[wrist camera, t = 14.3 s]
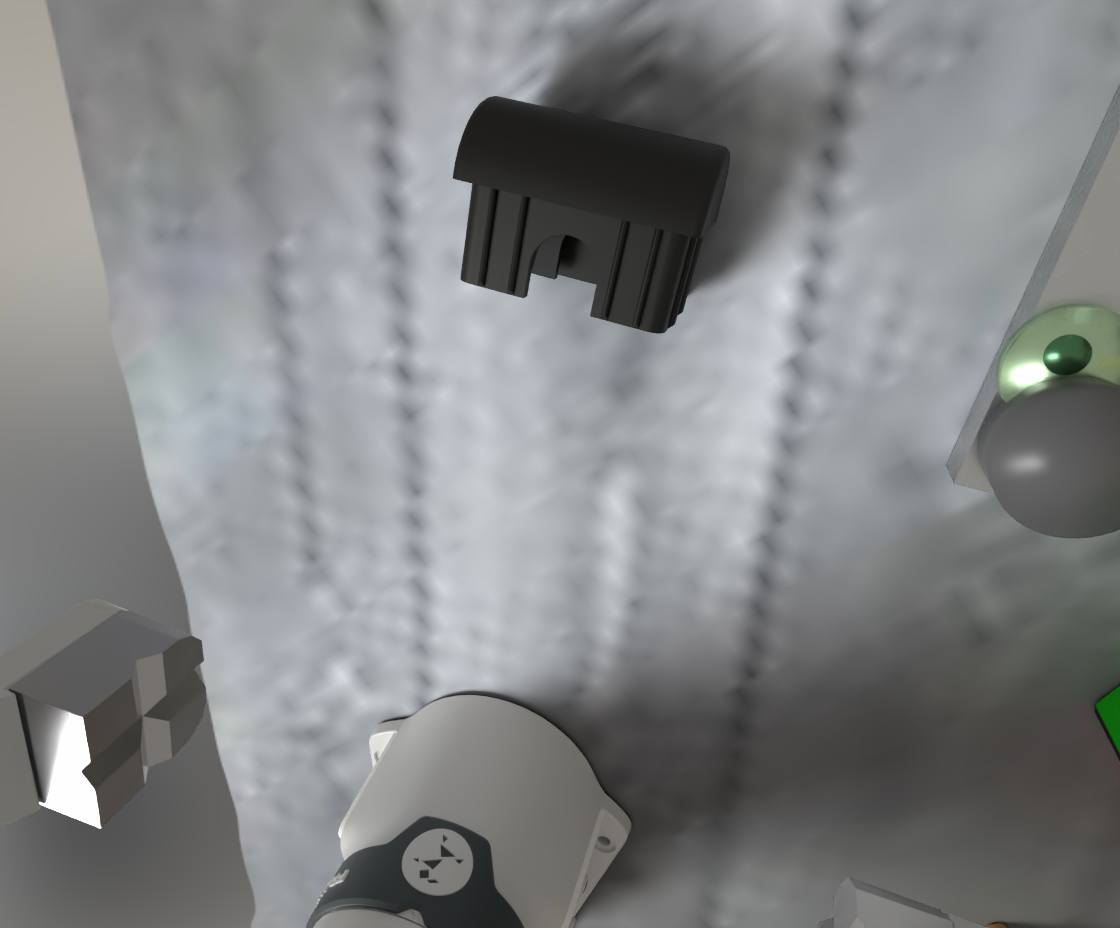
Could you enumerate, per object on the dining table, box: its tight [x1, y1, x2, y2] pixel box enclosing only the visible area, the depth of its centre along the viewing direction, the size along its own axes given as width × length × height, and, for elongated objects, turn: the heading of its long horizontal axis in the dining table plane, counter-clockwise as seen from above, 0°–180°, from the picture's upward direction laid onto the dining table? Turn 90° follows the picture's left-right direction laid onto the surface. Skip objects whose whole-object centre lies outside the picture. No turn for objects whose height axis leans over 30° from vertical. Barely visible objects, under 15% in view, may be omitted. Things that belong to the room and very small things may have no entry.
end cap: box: [453, 96, 730, 333], centre depth 31 cm, size 10×7×7 cm
